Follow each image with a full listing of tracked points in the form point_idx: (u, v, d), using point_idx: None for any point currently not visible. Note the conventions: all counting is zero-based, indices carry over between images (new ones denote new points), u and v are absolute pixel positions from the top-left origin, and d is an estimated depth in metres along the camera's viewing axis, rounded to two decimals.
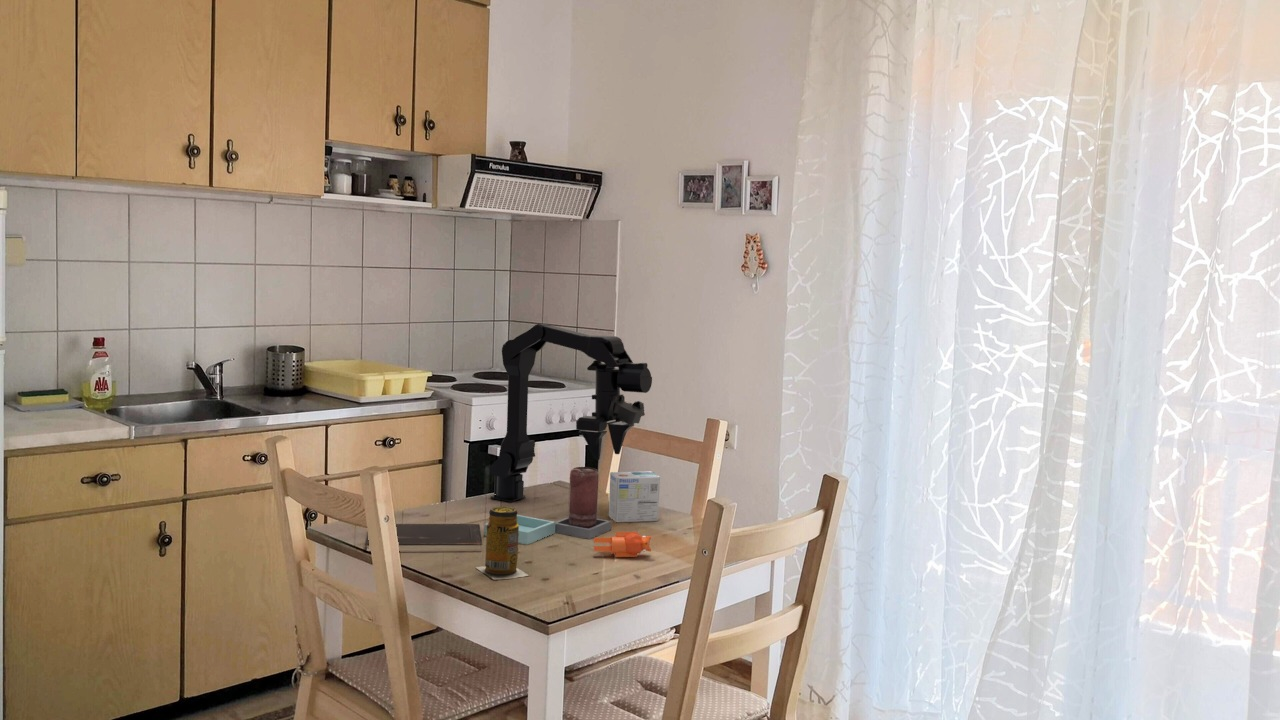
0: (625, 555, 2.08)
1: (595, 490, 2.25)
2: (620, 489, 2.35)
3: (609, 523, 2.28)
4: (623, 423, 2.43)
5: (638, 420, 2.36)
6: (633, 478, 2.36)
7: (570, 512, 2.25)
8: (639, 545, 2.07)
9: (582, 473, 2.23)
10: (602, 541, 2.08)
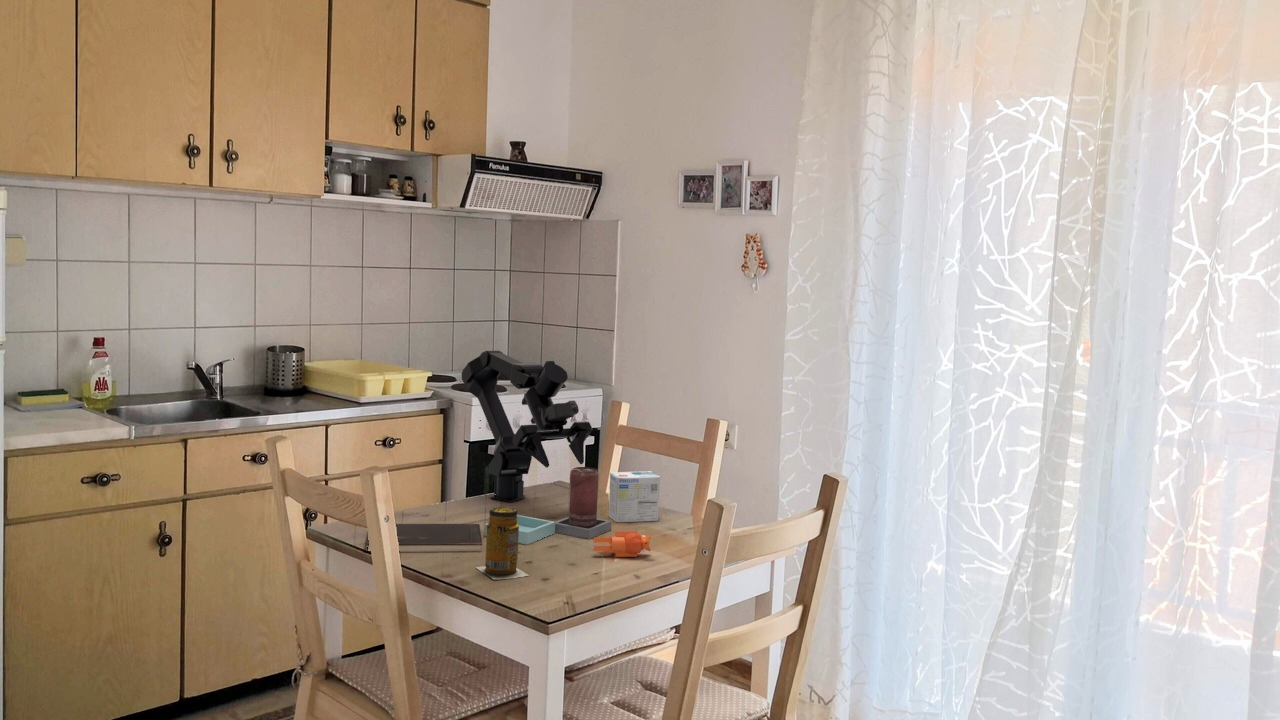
0: (625, 555, 2.08)
1: (595, 490, 2.25)
2: (620, 489, 2.35)
3: (609, 523, 2.28)
4: (576, 434, 2.38)
5: (569, 412, 2.32)
6: (633, 478, 2.36)
7: (570, 512, 2.25)
8: (639, 545, 2.08)
9: (582, 473, 2.23)
10: (602, 541, 2.08)
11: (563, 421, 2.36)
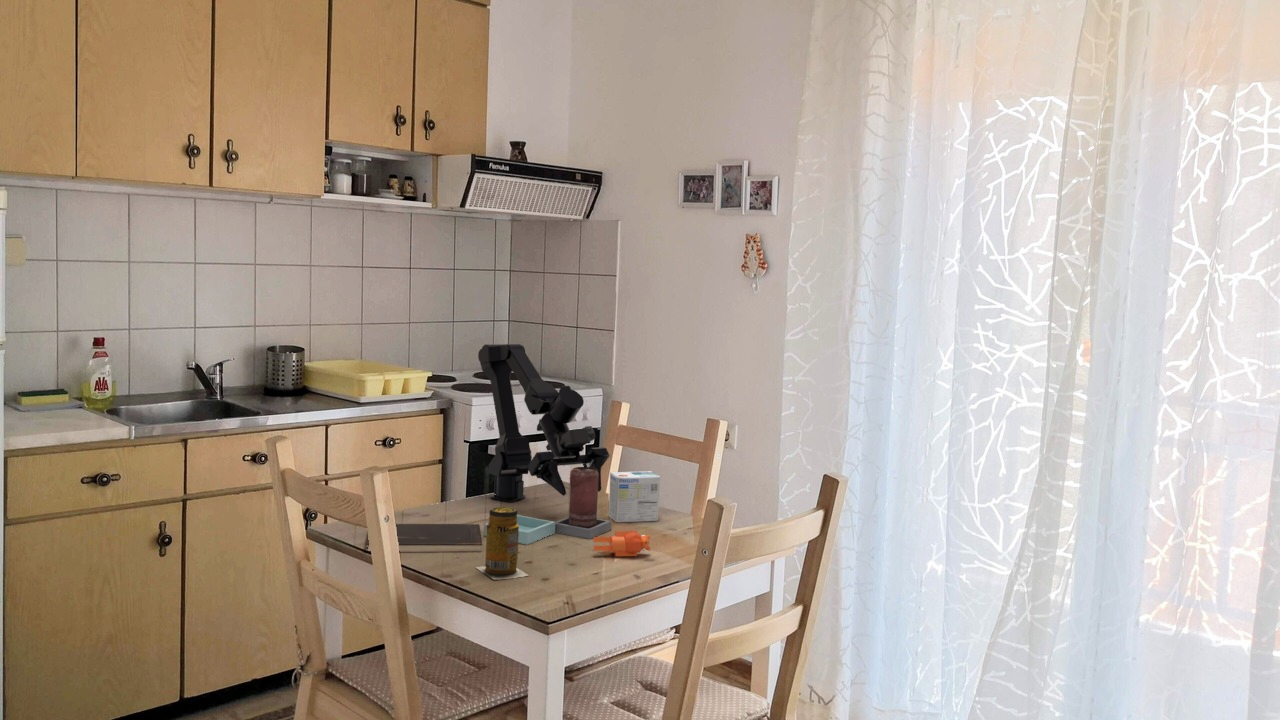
0: (625, 554, 2.09)
1: (595, 490, 2.25)
2: (620, 489, 2.35)
3: (609, 523, 2.28)
4: (593, 460, 2.33)
5: (585, 438, 2.27)
6: (633, 478, 2.36)
7: (570, 512, 2.25)
8: (639, 544, 2.08)
9: (582, 473, 2.23)
10: (602, 540, 2.08)
11: (579, 447, 2.31)
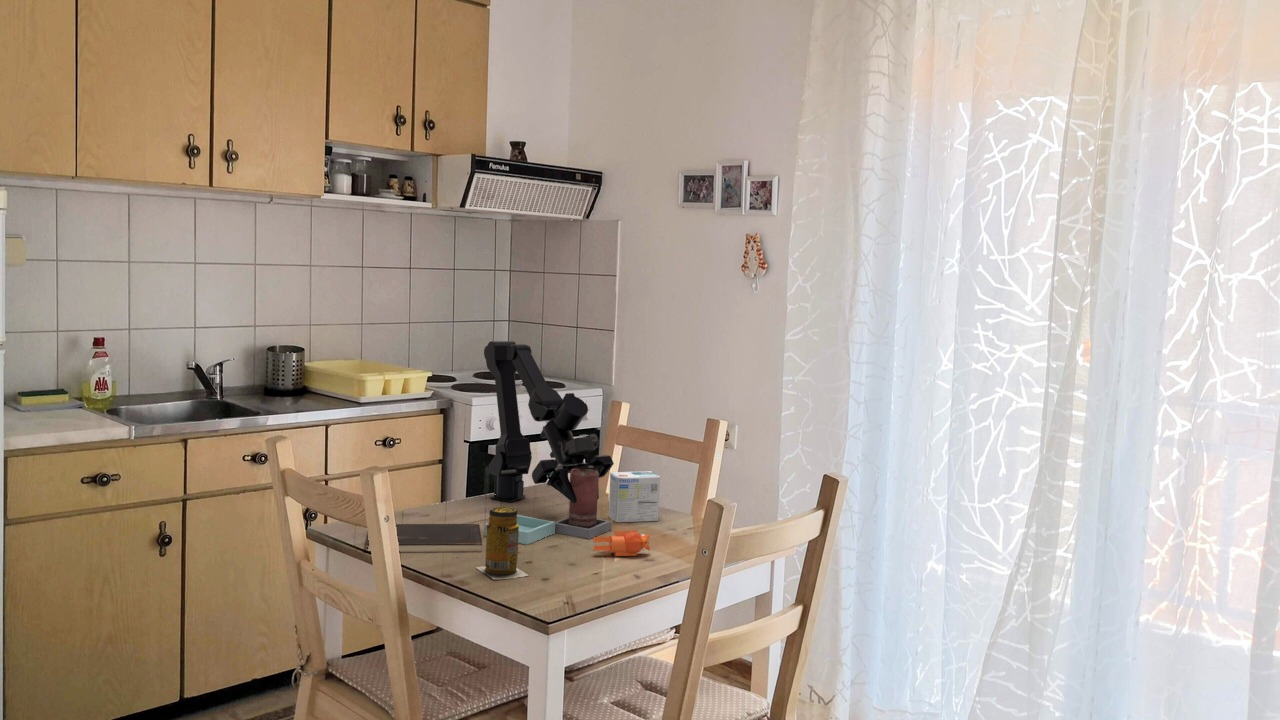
0: (625, 554, 2.09)
1: (595, 490, 2.25)
2: (620, 489, 2.35)
3: (609, 523, 2.28)
4: None
5: (590, 446, 2.25)
6: (633, 478, 2.36)
7: (570, 512, 2.25)
8: (639, 544, 2.08)
9: (582, 473, 2.23)
10: (602, 540, 2.08)
11: (583, 455, 2.29)
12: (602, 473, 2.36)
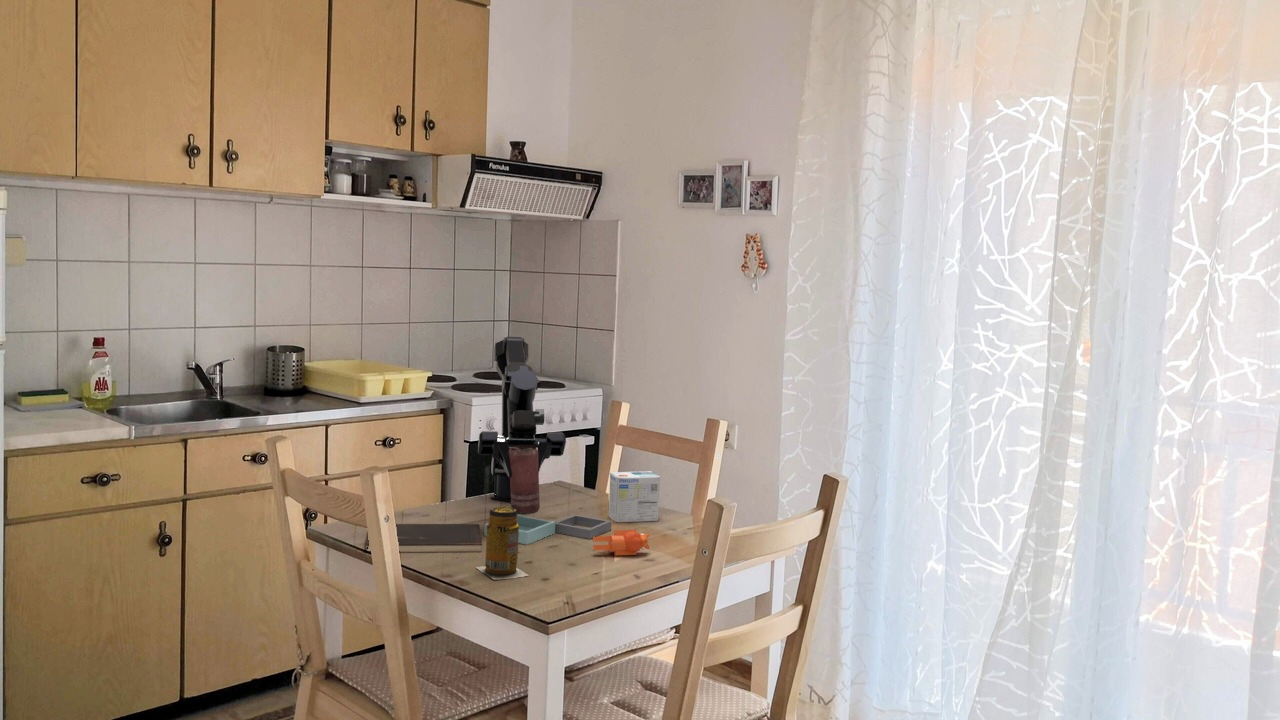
0: (625, 553, 2.09)
1: (530, 470, 2.18)
2: (620, 489, 2.35)
3: (609, 523, 2.28)
4: None
5: (529, 421, 2.19)
6: (633, 478, 2.36)
7: None
8: (639, 543, 2.09)
9: (515, 452, 2.17)
10: (602, 540, 2.09)
11: (532, 430, 2.23)
12: (560, 451, 2.27)
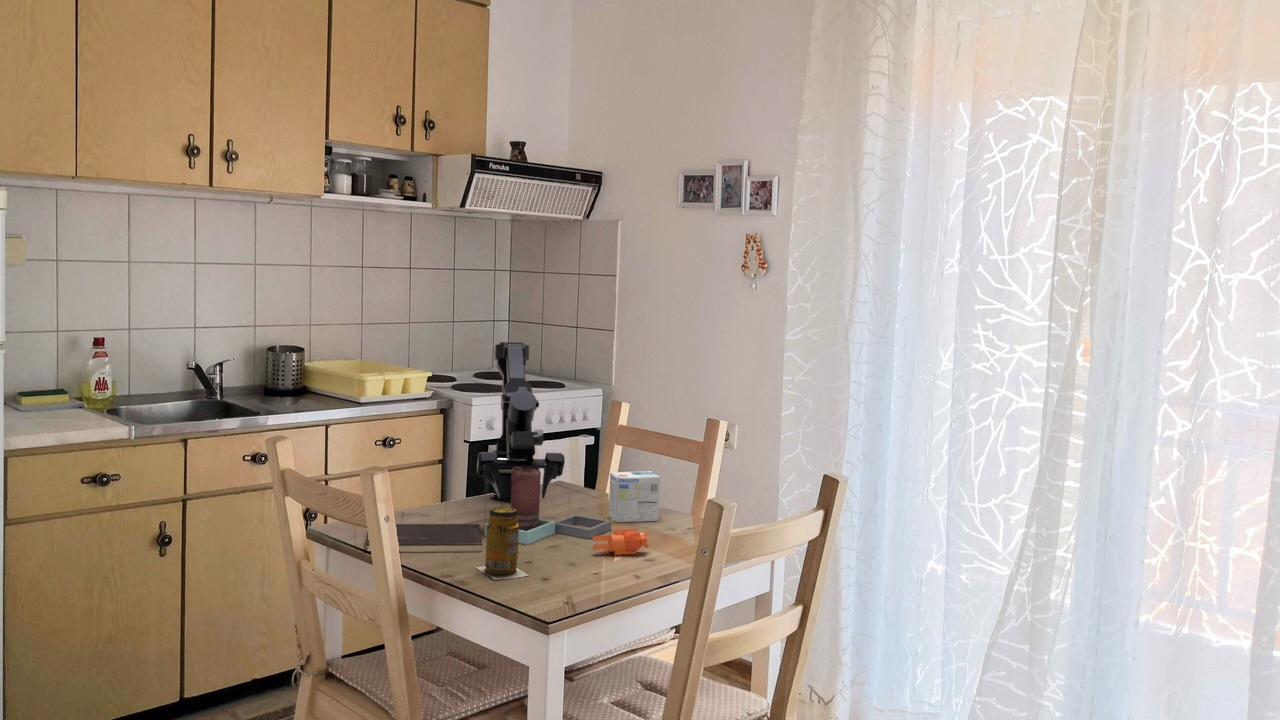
0: (624, 552, 2.10)
1: (531, 490, 2.19)
2: (620, 489, 2.35)
3: (609, 523, 2.28)
4: None
5: (528, 442, 2.19)
6: (633, 478, 2.36)
7: None
8: (638, 542, 2.10)
9: (517, 471, 2.18)
10: (601, 539, 2.09)
11: (530, 451, 2.23)
12: (559, 472, 2.27)
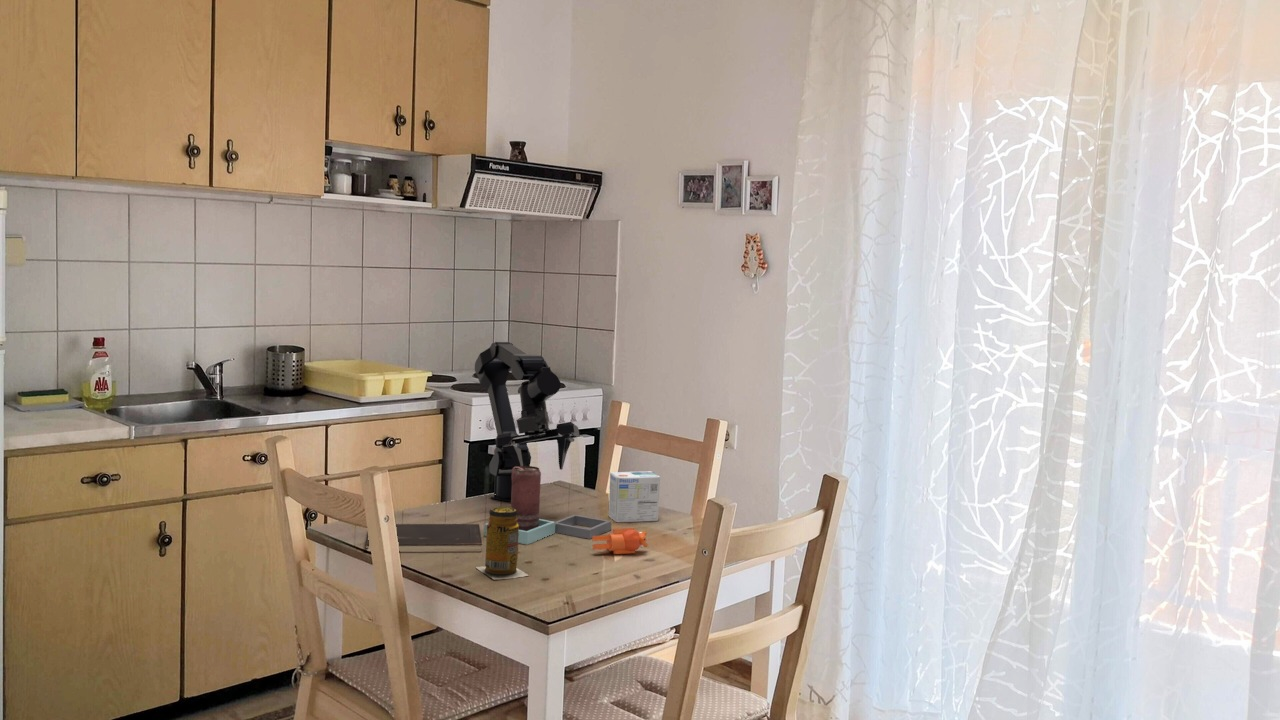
0: (624, 552, 2.10)
1: (532, 490, 2.19)
2: (620, 489, 2.35)
3: (609, 523, 2.28)
4: (559, 436, 2.35)
5: (531, 428, 2.30)
6: (633, 478, 2.36)
7: None
8: (638, 541, 2.10)
9: (518, 471, 2.18)
10: (601, 539, 2.09)
11: (541, 427, 2.34)
12: None
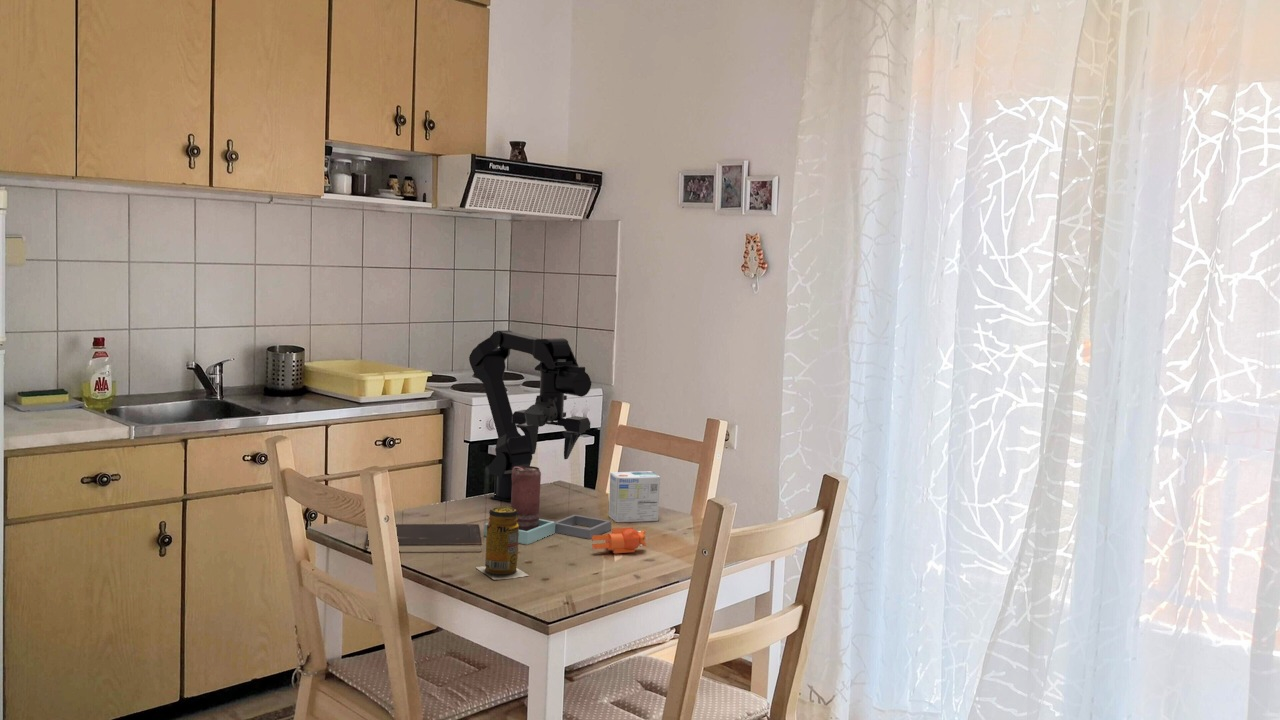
0: (623, 551, 2.11)
1: (532, 490, 2.19)
2: (620, 489, 2.35)
3: (609, 523, 2.28)
4: None
5: (536, 423, 2.35)
6: (633, 478, 2.36)
7: None
8: (637, 540, 2.11)
9: (518, 471, 2.18)
10: (601, 538, 2.10)
11: None
12: None
